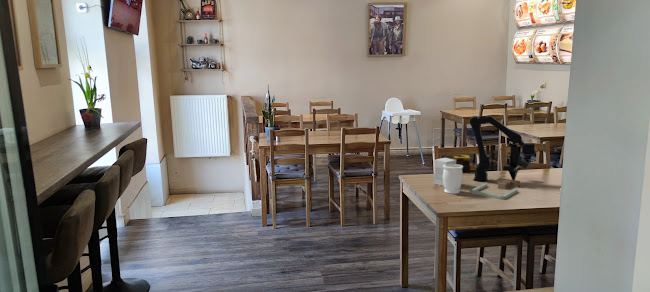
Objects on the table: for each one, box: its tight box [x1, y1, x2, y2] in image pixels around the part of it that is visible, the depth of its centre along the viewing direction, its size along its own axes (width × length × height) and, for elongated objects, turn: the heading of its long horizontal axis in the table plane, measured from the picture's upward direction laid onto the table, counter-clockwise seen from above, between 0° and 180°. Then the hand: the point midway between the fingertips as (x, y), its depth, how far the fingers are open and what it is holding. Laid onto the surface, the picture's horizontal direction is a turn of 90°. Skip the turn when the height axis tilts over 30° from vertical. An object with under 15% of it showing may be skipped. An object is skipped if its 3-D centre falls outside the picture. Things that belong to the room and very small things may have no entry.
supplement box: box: [433, 157, 456, 187], centre depth 280 cm, size 9×9×15 cm
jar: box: [443, 164, 464, 195], centre depth 264 cm, size 11×10×15 cm
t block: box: [496, 177, 521, 190], centre depth 275 cm, size 12×12×3 cm
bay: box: [469, 183, 519, 201], centre depth 263 cm, size 19×19×2 cm
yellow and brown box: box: [453, 154, 471, 174], centre depth 313 cm, size 10×10×10 cm
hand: (513, 180), depth 283 cm, fingers closed
